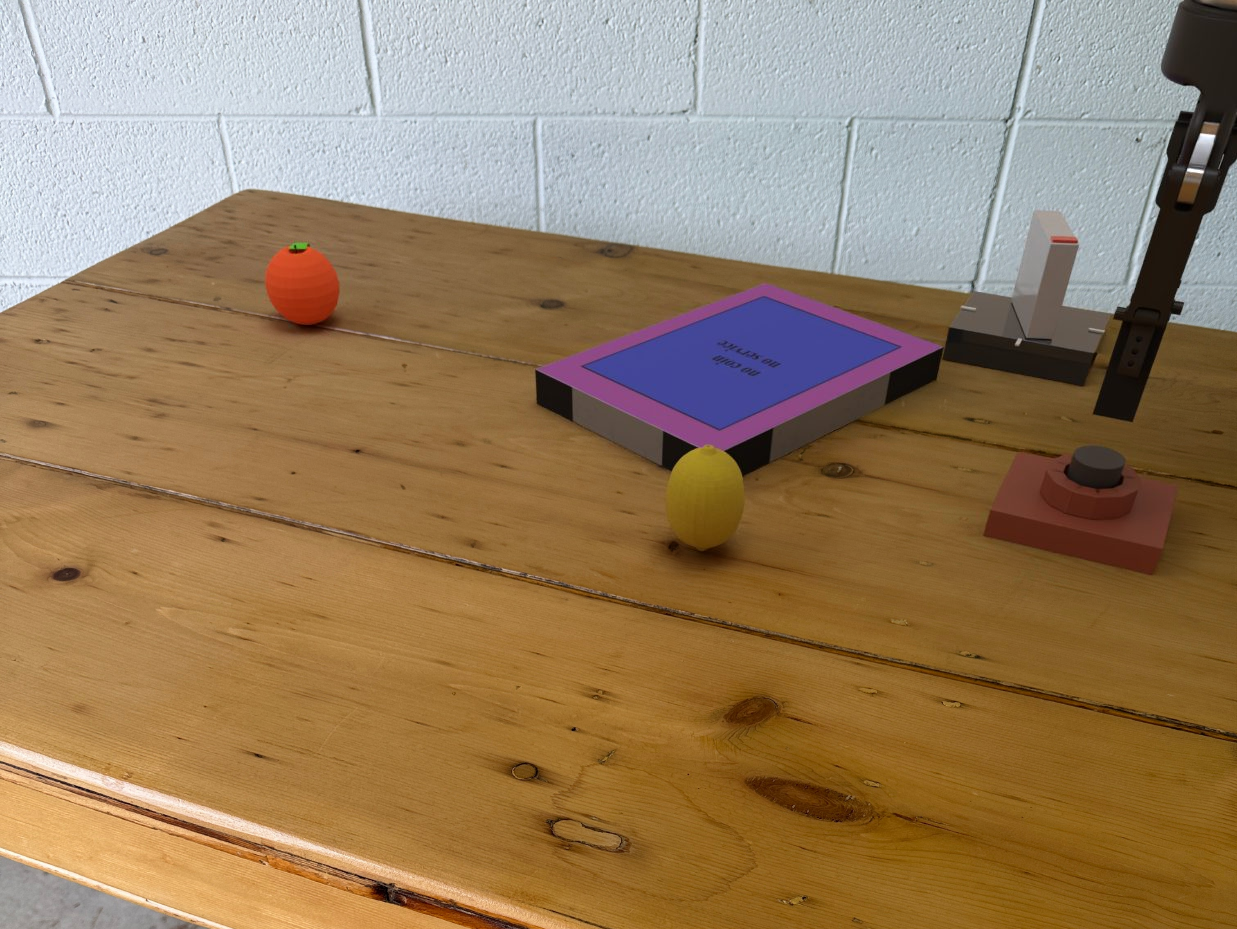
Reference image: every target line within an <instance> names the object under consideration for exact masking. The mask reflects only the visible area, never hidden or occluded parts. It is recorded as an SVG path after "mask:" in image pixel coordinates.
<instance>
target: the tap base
mask: <svg viewBox="0 0 1237 929" xmlns="http://www.w3.org/2000/svg"><path fill="white" fill-rule="evenodd" d="M1011 300H1012V296H1007V295H1000V294H994V293H988V292H982V291H976V290H973V292H972V293H971V295H970V296H969V297H968V299H967V300H966V302H965V303H964V304H963V305H961V306H960V311H959V312H958V313H957V315H956V316H955V318H954V319H953V321H952V322H951V323H950V325H949V327H948V331H947V334H946V340H945V345H944V348H943V353H942V357H941V360H943V361H944V360H946V361H950V362H956V363H961V364H966V365H972V366H977V367H981V368H987V369H993V370H997V371H1004V372H1007V373H1008V372H1009V373H1014V374H1018V375H1025V376H1030V377H1035V378H1041V379H1044V380H1045V379H1046V380H1050V381H1055V382H1062V383H1067V384H1072V385H1078V386H1082V387H1084V386H1085V385H1086V383H1087V380H1088V377H1089V375H1090V372H1091V370H1092V368H1093V365H1094V363H1095V361H1096V359H1097V356H1098V353H1099V352H1098V350H1099V348H1100V346H1101V344H1102V341H1103V339H1104V336H1105V334H1106V331H1107V328H1108V324H1109V322H1110V318H1111V316H1112V314H1111V313H1107V312H1102V311H1101V312H1100V311H1097V310H1096V311H1095V310H1089V309H1083V308H1077V307H1071V306H1066V305H1062V308H1061V311H1060V315H1059V318H1058V322H1057V326H1056V329H1055V333H1054V336H1053V339H1038V338H1026V336H1025V334H1024V331H1023V329H1022V326H1021V324H1020V321H1019V319H1018V316H1017V314H1016V311H1015V309H1014V306H1013V304H1012V301H1011Z"/></svg>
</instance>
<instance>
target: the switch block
mask: <svg viewBox="0 0 1237 929" xmlns="http://www.w3.org/2000/svg"><path fill="white" fill-rule="evenodd" d="M1072 457H1073V453H1066V454H1062V455H1060V456H1058V457H1054V458H1052V457H1047V456H1041V455H1037V454H1032V453H1028V452H1023V451H1017V452H1016V454H1015V456H1014V459H1013V461H1012V463H1011V465H1010V467H1009V469H1008V472H1007V474H1006V475H1005V478H1004V480H1003V482H1002V484H1001V486H1000V488H999V490H998V492H997V495H996V497H995V499H994V501H993V503H992V505H991V507H990V509H989V513H988V517H987V520H986V523H985V528H984V531H983V535H982V536H983V537H987V538H990V539H995V540H999V541H1004V542H1009V543H1013V544H1017V545H1021V546H1024V547H1025V546H1026V547H1029V548H1034V549H1038V550H1043V551H1047V552H1050V553H1056V554H1060V555H1063V556H1068V557H1073V558H1076V559H1080V560H1084V561H1089V562H1093V563H1098V564H1103V565H1105V566H1106V565H1107V566H1111V567H1115V568H1119V569H1123V570H1127V571H1131V572H1136V573H1140V574H1145V575H1148V576H1153V575H1154V574H1155V573H1154V572H1155V571H1156V567H1157V566H1158V562H1159V560H1160V558H1161V556H1162V552H1163V550H1164V547H1165V544H1166V543H1165V542H1166V538H1167V535H1168V531H1169V527H1170V524H1171V523H1170V522H1171V518H1172V516H1173V510H1174V506H1175V502H1176V498H1177V494H1178V491H1179V486H1180V485H1179V484H1177V483H1176V484H1175V483H1171V482H1166V481H1162V480H1161V481H1160V480H1156V479H1151V478H1147V477H1142V476H1140V475H1139V474H1138V473H1137V472H1136V470H1135V469H1133V467H1132V466H1130V465H1127V464H1125V466H1124V468H1123V471H1122V474H1121V477H1120V480H1119V482H1118V485H1117V486H1116V487H1115V488H1112V489H1094V488H1089V487H1085V486H1081V485H1079V484H1077V483H1075V482H1073V481H1071V480H1069V479H1068V478H1067V472H1068V469H1069V466H1070V463H1071V460H1072Z"/></svg>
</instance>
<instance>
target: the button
mask: <svg viewBox="0 0 1237 929" xmlns="http://www.w3.org/2000/svg"><path fill="white" fill-rule="evenodd" d="M1072 454H1073V457H1072V460H1071V463H1070V466H1069V469H1068V472H1067V478H1068V479H1069V480H1071V481H1073V482H1075V483H1077V484H1079V485H1081V486H1085V487H1089V488H1094V489H1112V488H1115V487H1116V486H1117V485H1118V482H1119V480H1120V477H1121V474H1122V471H1123V468H1124V466H1125V465H1126V463H1127V462H1126V458H1125V456H1124V455H1123V454H1122V453H1121V452H1119V451H1117V450H1115V449H1112V448H1110V447H1106V446H1102V445H1083V446H1080V447H1078V448H1076V449H1075V450H1074V451H1073V453H1072Z"/></svg>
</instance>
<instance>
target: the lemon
mask: <svg viewBox="0 0 1237 929" xmlns="http://www.w3.org/2000/svg"><path fill="white" fill-rule="evenodd" d="M667 482H668V483H667V487H666V492H665V498H664V502H665V504H664V505H665V513H666V517H667V522H668V524H669V527H670V529H671V531H672V532H673V533H674V534H675V536H676V537H677V538H678V540H680V541H681V542H683V543H684V544H686V545H688V546H690V547H692V548H695V549H696V550H697V551H698V552H705V551H707V550H708V549H711V548H714V547H718V546H719V545H722V544H723V543H725V542H726V541H728V539H730V538H731V537H732V536H733V535H734V534H735V532H736V531H737V529H738V527H739V525H740V523H741V520H742V518H743V514H744V509H745V502H746V495H745V494H746V493H745V484H744V476H742V473H741V471H740V468H739V467H738V465H737V463H736V462H735V460H734V459H733V458H732V457H731V456H729V455H728V454H727V453H726V452H724V451H722V450H720V449H717V448H714V446H712V445H705V446H703V447H701V448H697V449H694V450H692V451H690V452H688V453H687V454H685V455H684V456H683V457H682V458H681V459H680V460H679V461H678V462H677V464H676V465H675V466H674V468H673V470H672V471H671V473H670V475H669V479H668V481H667Z"/></svg>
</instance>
